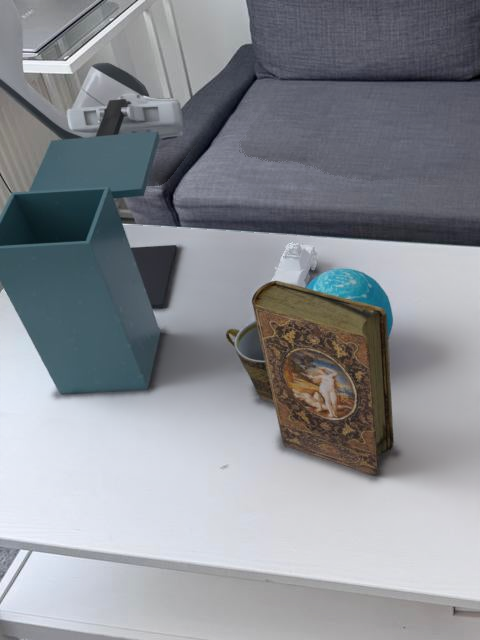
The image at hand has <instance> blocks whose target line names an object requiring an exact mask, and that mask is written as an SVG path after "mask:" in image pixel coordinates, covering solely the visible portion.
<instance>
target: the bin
mask: <svg viewBox="0 0 480 640" xmlns="http://www.w3.org/2000/svg"><path fill="white" fill-rule="evenodd" d="M122 221H123V220H122V219H121V216H120V214H119V210H118V208H117V204H116V202H115V198H114V199H113V196H112V193H111V190H110V187H96V188H79V189H62V190H45V191H29V190H28V191H14V192H13V191H12V192H10V195H9V197H8V199H7V201H6V203H5V205H4V207H3V209H2V211H1V213H0V284H1V286H2V287H3V290H4V291H5V293H6V295H7V297H8V299H9V301H10V302H11V305H12V307H13V308H14V310H15V312H16V314H17V316H18V318H19V319H20V321H21V324H22V325H23V327H24V329H25V331H26V333H27V334H28V337H29V338H30V341H31V342H32V344H33V346H34V348H35V350H36V352H37V353H38V356H39V358H40V360H41V362H42V364H43V365H44V367H45V369H46V371H47V372H48V375H49V376H50V378H51V380H52V382H53V384H54V386H55V388H56V390H57V392H58V393H59V395H73V394H90V393H92V394H93V393H109V392H110V393H111V392H125V391H144V390H148V389H149V385H150V381H151V377H152V372H153V368H154V363H155V359H156V354H157V350H158V346H159V341H160V336H161V329H160V327H159V325H158V324H159V323H158V321H157V318H156V316H155V312H154V310H153V309H154V308H152V307H151V304H150V301H149V298H148V295H147V292H146V290H145V287H144V284H143V281H142V278H141V275H140V272H139V270H138V267H137V264H136V261H135V258H134V255H133V253H132V250H131V248H132V247H131V244H130V242H129V239H128V236H127V233H126V230H125V227H124V224H123V222H122Z"/></svg>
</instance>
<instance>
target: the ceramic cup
mask: <svg viewBox="0 0 480 640" xmlns="http://www.w3.org/2000/svg"><path fill="white" fill-rule="evenodd" d="M230 335H231V336H233V337H234V340H233V338H232V337H231V336H230ZM225 337H226V340H227V341H228V342H229V343H230V345H231V346H233V347H234V350H235V351H236V354H237V356H238V358H239V361H240V363H241V364H242V367H243V368H244V370H245V372H246V373H247V375H248V377H249V378H250V379H249V380H250V381H251V383H252V385H253V387H254V389H255V391H256V393H257V395H258V397H259V398H260V400H262V401H264V402H268V403H270V404H273V405H274V401H273V396H272V391H271V387H270V382H269V378H268V373H267V369H266V364H265V359H264V355H263V350H262V346H261V341H260V337H259V332H258V328H257V323H256V320H255V321H252V322H250V323H248V324H246V325H245V326H243V327H242V328H241V329H240V330H239V329H236V328H230V329H228V330H227V331H226V332H225Z"/></svg>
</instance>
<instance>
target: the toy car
mask: <svg viewBox="0 0 480 640" xmlns="http://www.w3.org/2000/svg"><path fill="white" fill-rule="evenodd" d="M317 255H318V252H317V251H316V247H315V246H314V245H308V244H301V243H299V242H293V241H291V242H290V243H287V245H286V246H285V248H284V251H283V253H282V255H281V257H280V260H279V263H278V266H274V270H276V271H275V273H274V275H273V277H272V278H271V281H270V282H272V281H280V282H284V283H288V284H292V285H295V286H299V287H303V288H306V286H307V285H308V284H309V281H310V278H311V277H310V272H309V271H310V270H311V271H315V270H316V267H317V265H318V262H317V259H316V258H315V257H317Z"/></svg>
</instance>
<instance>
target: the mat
mask: <svg viewBox="0 0 480 640" xmlns="http://www.w3.org/2000/svg"><path fill="white" fill-rule="evenodd" d="M131 250H132V253H133V255H134V258H135V261H136V264H137V267H138V270H139V272H140V275H141V278H142V281H143V284H144V287H145V290H146V292H147V295H148V298H149V301H150V304H151V307H152V309H163V308H164V307H165V306H164V305H165V302H166V298H167V293H168V290H169V285H170V281H171V276H172V271H173V268H174V263H175V258H176V255H177V254H176V253H177V250H178V248H177V245H176V244H171V245H170V244H169V245H167V244H166V245H153V246H136V247H135V246H134V247H131Z"/></svg>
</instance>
